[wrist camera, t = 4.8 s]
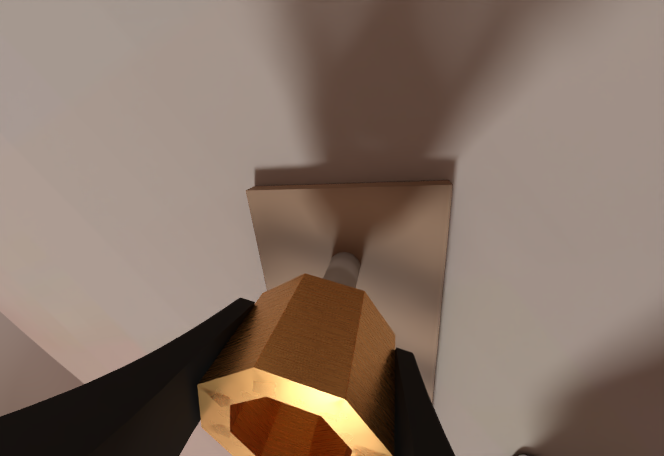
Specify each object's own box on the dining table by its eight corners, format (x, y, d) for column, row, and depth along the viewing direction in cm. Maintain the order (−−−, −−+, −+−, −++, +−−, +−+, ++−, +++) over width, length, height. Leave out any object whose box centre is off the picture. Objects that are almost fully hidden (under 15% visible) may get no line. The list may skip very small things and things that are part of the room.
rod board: (424, 456, 22) (430, 532, 18) (303, 432, 25) (285, 493, 21) (448, 180, 13) (471, 208, 9) (254, 186, 16) (206, 210, 12)
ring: (408, 304, 9) (415, 424, 6) (370, 393, 12) (358, 513, 8) (264, 261, 10) (193, 346, 7) (257, 354, 13) (204, 451, 9)
